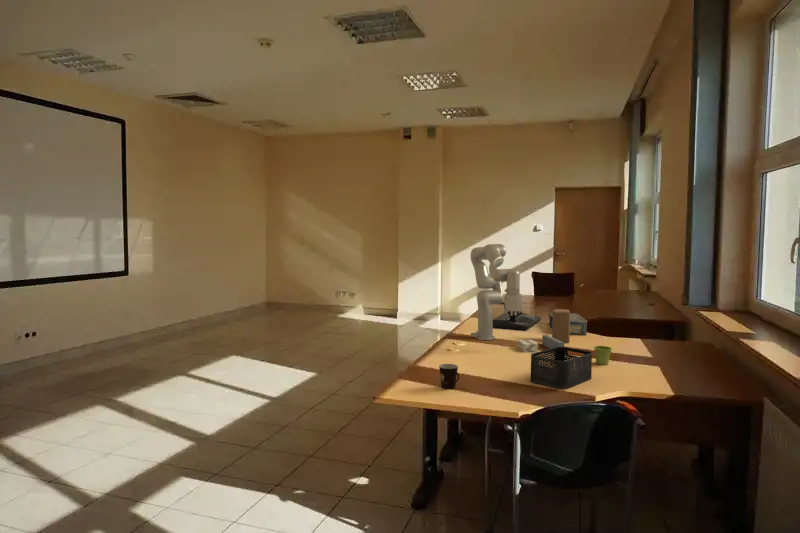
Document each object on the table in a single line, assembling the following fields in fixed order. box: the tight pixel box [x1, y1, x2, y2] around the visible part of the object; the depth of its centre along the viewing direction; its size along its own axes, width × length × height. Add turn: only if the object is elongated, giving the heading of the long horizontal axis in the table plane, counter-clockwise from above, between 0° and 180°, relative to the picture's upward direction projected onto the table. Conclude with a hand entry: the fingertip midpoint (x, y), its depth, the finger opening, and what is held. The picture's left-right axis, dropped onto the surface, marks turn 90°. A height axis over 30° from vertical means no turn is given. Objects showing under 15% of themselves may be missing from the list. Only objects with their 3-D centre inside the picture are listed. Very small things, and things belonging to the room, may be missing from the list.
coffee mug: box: [438, 363, 460, 390], centre depth 249 cm, size 12×9×10 cm
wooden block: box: [551, 308, 571, 344], centre depth 345 cm, size 10×10×20 cm
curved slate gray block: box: [541, 334, 565, 349], centre depth 326 cm, size 3×22×6 cm, turn 11°
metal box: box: [548, 312, 588, 336], centre depth 379 cm, size 21×32×10 cm, turn 173°
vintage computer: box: [493, 310, 542, 332], centre depth 402 cm, size 43×29×8 cm
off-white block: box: [517, 339, 539, 354], centre depth 323 cm, size 8×12×5 cm, turn 5°
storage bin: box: [529, 346, 593, 390], centre depth 262 cm, size 29×19×13 cm
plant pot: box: [593, 345, 613, 366], centre depth 292 cm, size 9×9×9 cm
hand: (512, 322), depth 320 cm, fingers closed
